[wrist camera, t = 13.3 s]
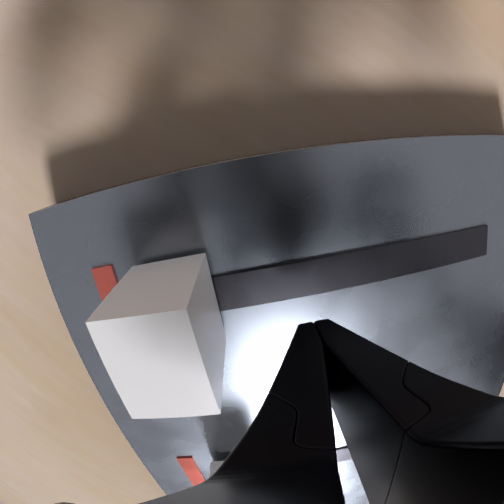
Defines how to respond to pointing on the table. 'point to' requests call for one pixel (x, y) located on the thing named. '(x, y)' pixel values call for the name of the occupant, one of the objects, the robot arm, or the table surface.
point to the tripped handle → (163, 339)
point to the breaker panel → (299, 271)
